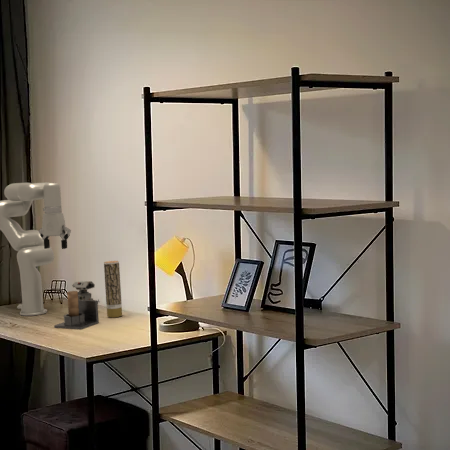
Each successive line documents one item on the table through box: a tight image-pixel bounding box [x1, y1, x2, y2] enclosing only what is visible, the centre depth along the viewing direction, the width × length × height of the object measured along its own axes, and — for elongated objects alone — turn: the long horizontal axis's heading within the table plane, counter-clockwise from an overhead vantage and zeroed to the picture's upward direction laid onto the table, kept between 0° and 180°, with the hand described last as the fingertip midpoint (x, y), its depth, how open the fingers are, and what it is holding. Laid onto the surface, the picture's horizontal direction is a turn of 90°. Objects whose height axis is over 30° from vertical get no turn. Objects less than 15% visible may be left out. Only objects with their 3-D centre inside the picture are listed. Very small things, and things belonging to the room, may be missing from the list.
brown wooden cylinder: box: [66, 290, 79, 316], centre depth 356 cm, size 4×4×14 cm
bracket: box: [53, 299, 99, 330], centre depth 357 cm, size 13×14×10 cm
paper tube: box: [103, 260, 123, 319], centre depth 372 cm, size 7×7×25 cm
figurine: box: [71, 280, 100, 304], centre depth 385 cm, size 9×12×15 cm
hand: (55, 248), depth 370 cm, fingers open, 9 cm apart
